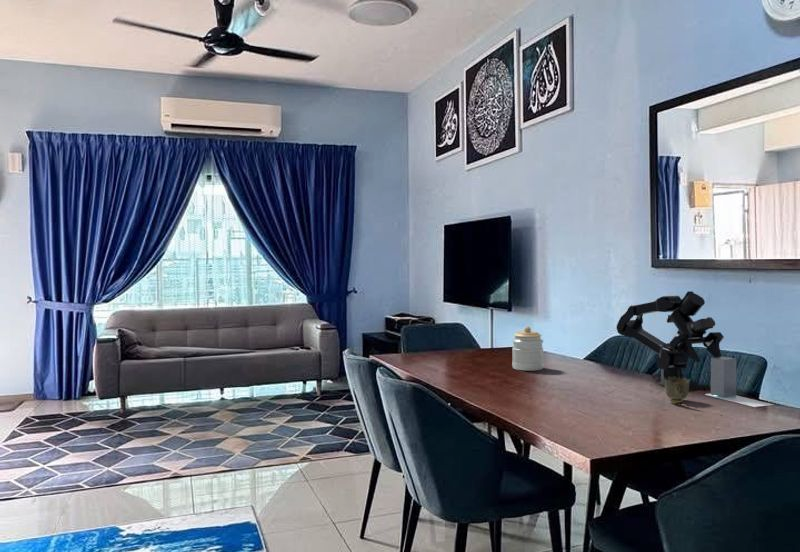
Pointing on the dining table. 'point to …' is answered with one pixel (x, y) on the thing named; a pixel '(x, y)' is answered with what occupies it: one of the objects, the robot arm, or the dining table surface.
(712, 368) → the tall grey box
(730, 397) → the teal base with post
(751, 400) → the mounting plate
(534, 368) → the jar
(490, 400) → the dining table surface
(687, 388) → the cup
